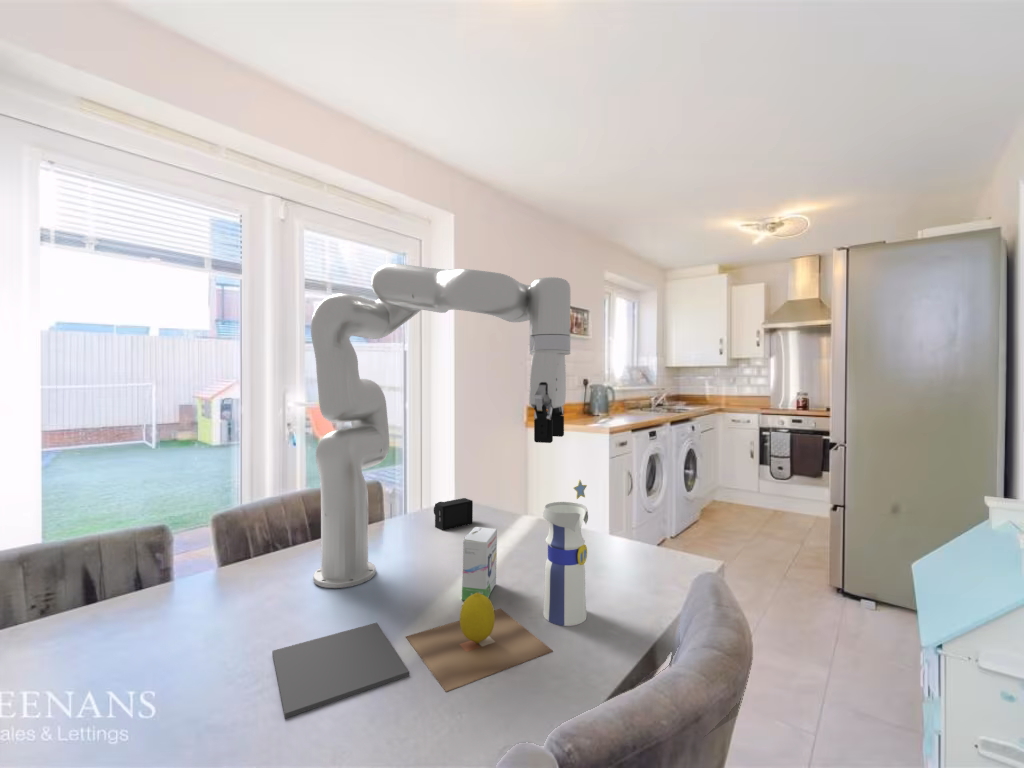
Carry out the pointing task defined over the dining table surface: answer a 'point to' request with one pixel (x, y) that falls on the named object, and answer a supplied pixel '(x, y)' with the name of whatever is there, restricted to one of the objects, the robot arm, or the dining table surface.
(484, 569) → the ink box
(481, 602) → the lemon
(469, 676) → the board
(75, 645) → the dining table surface
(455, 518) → the digital camera
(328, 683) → the rubber mat
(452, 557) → the dining table surface
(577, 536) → the water bottle
